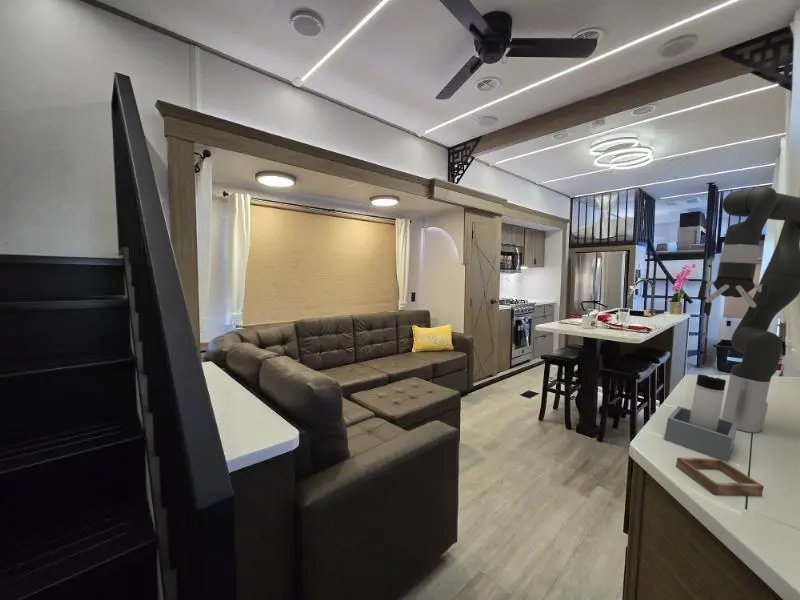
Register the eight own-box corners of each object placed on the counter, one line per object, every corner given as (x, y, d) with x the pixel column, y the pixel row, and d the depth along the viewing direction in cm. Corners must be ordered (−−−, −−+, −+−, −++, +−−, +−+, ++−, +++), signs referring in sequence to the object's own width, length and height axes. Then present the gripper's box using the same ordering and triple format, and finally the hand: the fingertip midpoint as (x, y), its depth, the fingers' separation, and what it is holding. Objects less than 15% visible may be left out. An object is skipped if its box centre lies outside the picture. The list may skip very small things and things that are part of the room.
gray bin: (674, 426, 112) (678, 405, 111) (733, 445, 102) (737, 423, 101) (664, 439, 103) (667, 417, 102) (727, 462, 93) (732, 438, 92)
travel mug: (685, 439, 102) (696, 375, 99) (687, 431, 107) (698, 370, 104) (713, 448, 98) (726, 381, 95) (714, 440, 103) (727, 376, 100)
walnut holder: (718, 467, 90) (719, 458, 90) (761, 495, 80) (763, 486, 79) (675, 466, 90) (677, 457, 89) (713, 494, 79) (715, 484, 79)
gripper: (775, 263, 94) (763, 321, 96) (706, 260, 104) (697, 312, 107) (774, 262, 89) (762, 323, 91) (702, 259, 99) (693, 314, 102)
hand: (727, 317), depth 99 cm, fingers open, 8 cm apart
